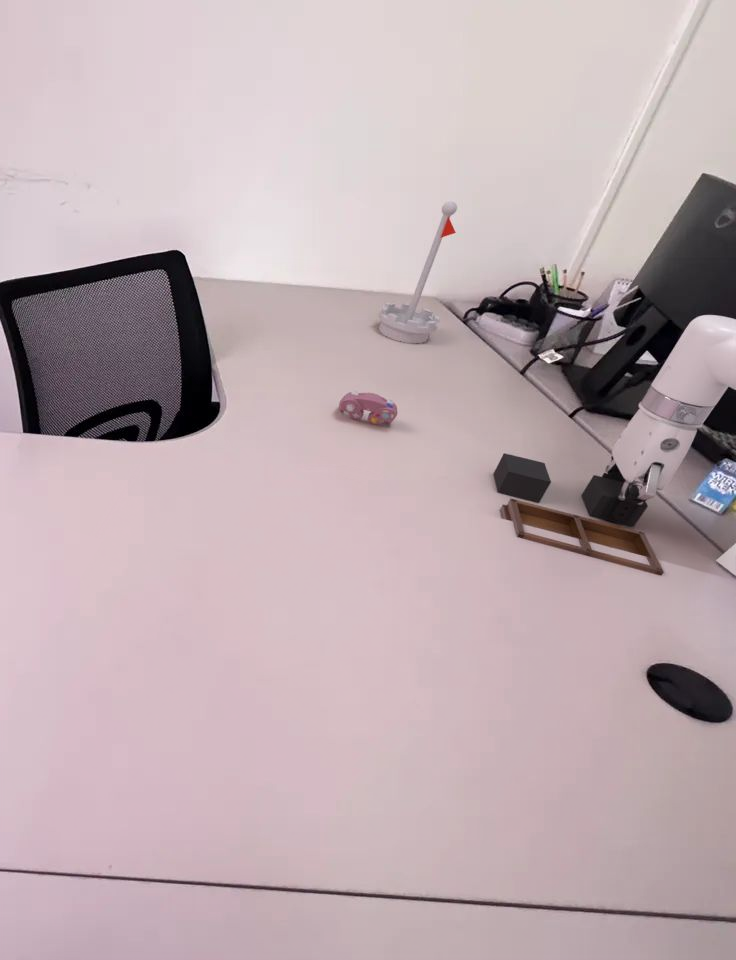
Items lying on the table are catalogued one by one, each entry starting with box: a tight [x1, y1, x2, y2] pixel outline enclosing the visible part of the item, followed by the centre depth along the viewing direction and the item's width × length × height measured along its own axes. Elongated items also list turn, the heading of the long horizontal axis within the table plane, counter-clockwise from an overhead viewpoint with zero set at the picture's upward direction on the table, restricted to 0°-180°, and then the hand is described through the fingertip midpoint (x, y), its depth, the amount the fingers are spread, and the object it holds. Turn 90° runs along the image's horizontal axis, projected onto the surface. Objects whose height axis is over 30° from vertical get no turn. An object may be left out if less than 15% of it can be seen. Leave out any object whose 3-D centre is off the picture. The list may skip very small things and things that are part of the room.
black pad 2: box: [581, 474, 649, 528], centre depth 103 cm, size 6×6×4 cm
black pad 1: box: [493, 452, 552, 504], centre depth 106 cm, size 6×6×4 cm
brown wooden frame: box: [499, 498, 665, 576], centre depth 95 cm, size 18×10×2 cm, turn 69°
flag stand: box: [378, 200, 458, 345], centre depth 152 cm, size 13×13×30 cm
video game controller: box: [338, 390, 398, 425], centre depth 120 cm, size 10×5×7 cm, turn 68°
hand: (608, 507), depth 104 cm, fingers closed on black pad 2, 6 cm apart
